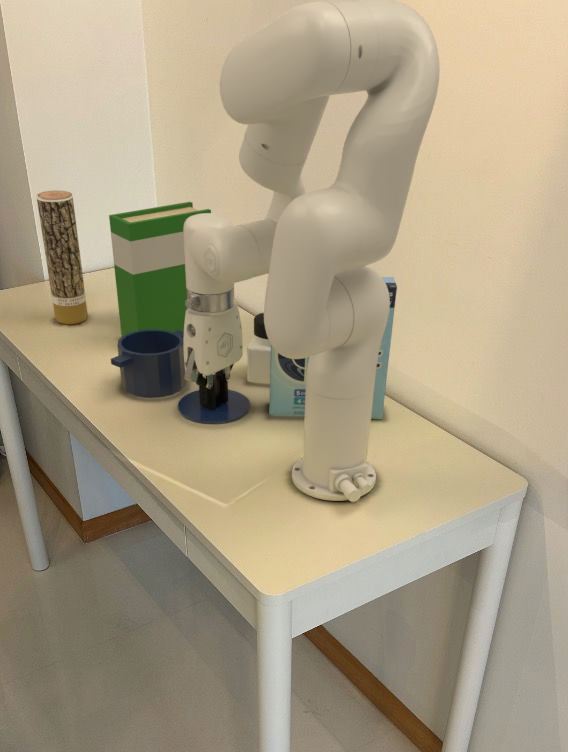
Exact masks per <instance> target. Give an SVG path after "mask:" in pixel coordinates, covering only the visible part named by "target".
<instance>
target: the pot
mask: <svg viewBox="0 0 568 752" xmlns="http://www.w3.org/2000/svg"><path fill="white" fill-rule="evenodd" d="M183 344H184V331H181V330H178V331H175V332H171V331H168V330H160V329H147V330H139V331H134V332H131V333H128V334H126V335H124V336H122V335H121V337H120V338H119V339H117V354H118V355H117V356H114V357H111V358H110V364H111V365H112V366H114V367H115V366H116V368H119V373H120V382H121V388H122V389H123V390H124V391H125V393H127V394H129V395H131V396H134V397H138V398H145V399H155V398H157V399H158V398H164V397H169V396H174V395H175V394H177V393H179V392H181V391H182V390H183V389H184V388H185V387H186V385H187V380H186V379H184V376H185V372H186V366H185V362H184V347H183Z"/></svg>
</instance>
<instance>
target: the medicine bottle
mask: <svg viewBox="0 0 568 752" xmlns="http://www.w3.org/2000/svg"><path fill="white" fill-rule="evenodd" d="M246 356H247V357H246V363H247V366H246V368H247V369H246V371H247V372H246V374H247V376H246V377H247V380H246V381H247V382H249V383H257V384H267V385H270V359H271V343H270V341H269V339H268V337H267V334H266V330H265V325H264V311H263V312H259V313H257V314H256V315H255V316H254V317H253V337H252V339H251V341H250V343H249V344H248V346H247V348H246Z"/></svg>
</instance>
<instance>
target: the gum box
mask: <svg viewBox="0 0 568 752" xmlns="http://www.w3.org/2000/svg"><path fill="white" fill-rule="evenodd" d="M381 277H382V278H383V280H384V281H385V283H386V285H387V288H388V291H389V297H390V309H389V316H388V321H387V324H386V328H385V331H384V334H383V338H382V341H381V345H380V349H379V354H378V360H377V367H376V376H375V385H374V393H373V403H372V413H371V420H383V418H384V407H385V399H386V398H385V396H386V389H387V378H388V369H389V361H390V353H391V344H392V336H393V335H392V334H393V327H394V326H393V325H394V316H395V308H396V298H397V291H398V285H397V282H396V280H395V277H394V276H381ZM308 361H309V357H307V358H303V359H290V358H286V357H284V356H282V355H281V354H279V353H278V352H277V351H276V350H275V349H274V348H273V347H272V345H271V359H270V384H269V404H268V406H269V407H268V410H269V411H268V416H296V417H297V416H299V417H300V416H301V417H305V394H306V374H307V366H308Z"/></svg>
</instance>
